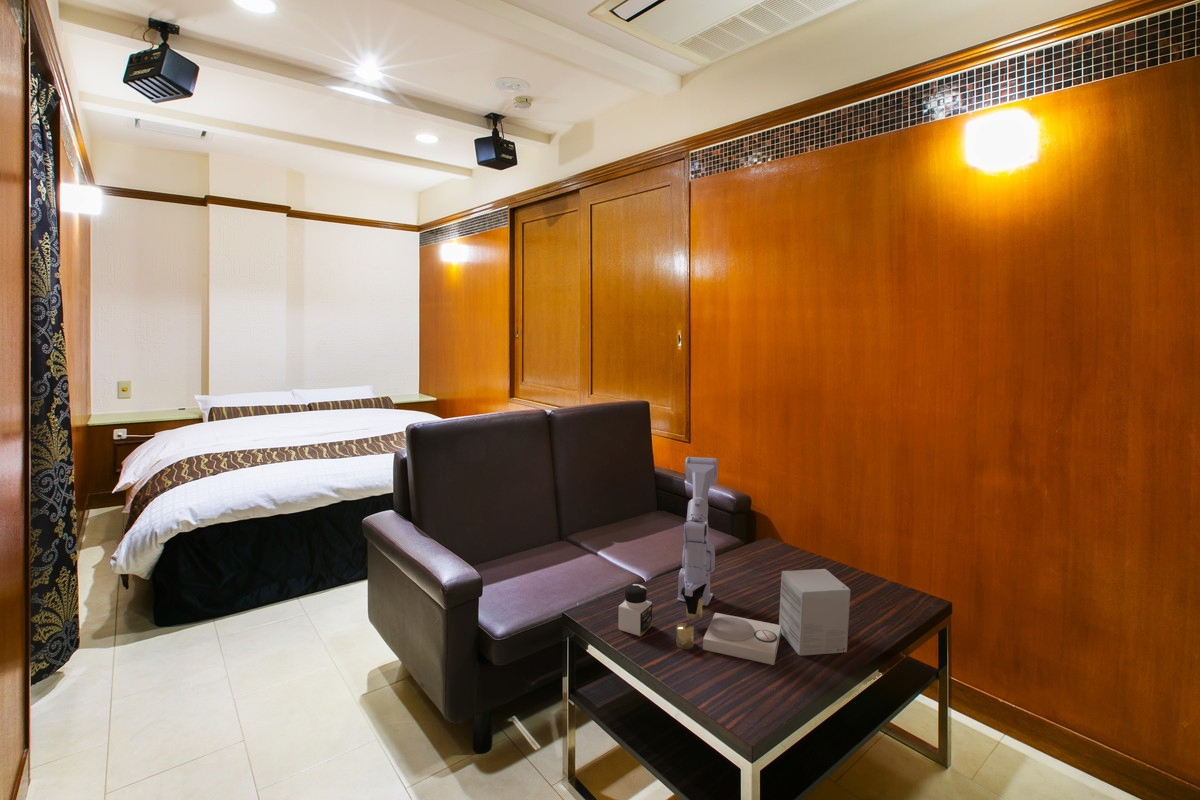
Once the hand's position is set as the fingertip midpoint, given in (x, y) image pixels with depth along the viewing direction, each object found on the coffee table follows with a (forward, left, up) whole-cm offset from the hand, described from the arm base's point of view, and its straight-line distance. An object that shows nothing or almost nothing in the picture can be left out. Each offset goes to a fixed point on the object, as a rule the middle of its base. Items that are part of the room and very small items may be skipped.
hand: (694, 609), depth 164 cm
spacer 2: (0, 0, -2) cm, 2 cm away
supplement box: (+31, +5, -5) cm, 32 cm away
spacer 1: (0, -10, -5) cm, 11 cm away
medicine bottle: (-15, -7, -5) cm, 17 cm away
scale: (+14, -3, -5) cm, 15 cm away
